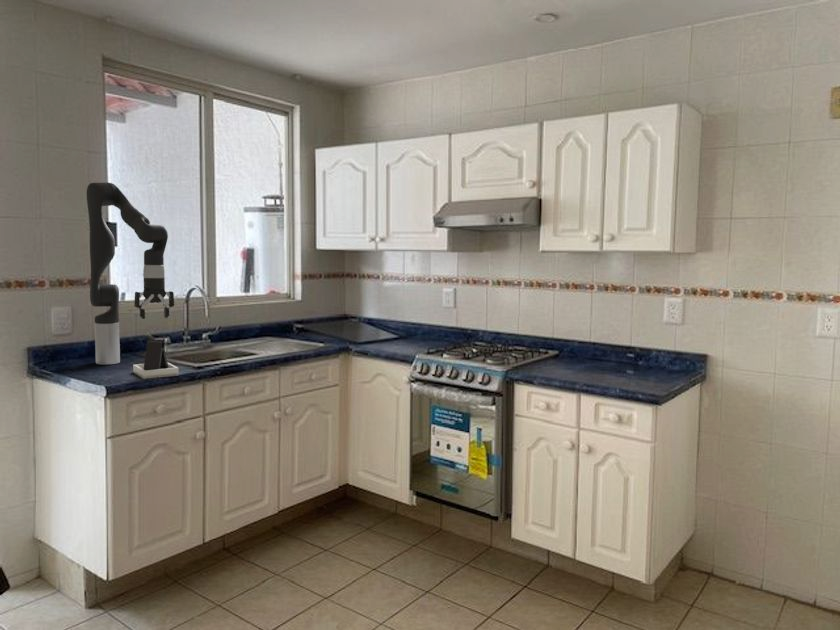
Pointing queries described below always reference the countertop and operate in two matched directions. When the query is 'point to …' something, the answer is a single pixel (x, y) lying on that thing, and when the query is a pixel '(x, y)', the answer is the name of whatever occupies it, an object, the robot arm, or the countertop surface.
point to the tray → (155, 371)
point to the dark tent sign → (155, 356)
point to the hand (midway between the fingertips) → (154, 318)
